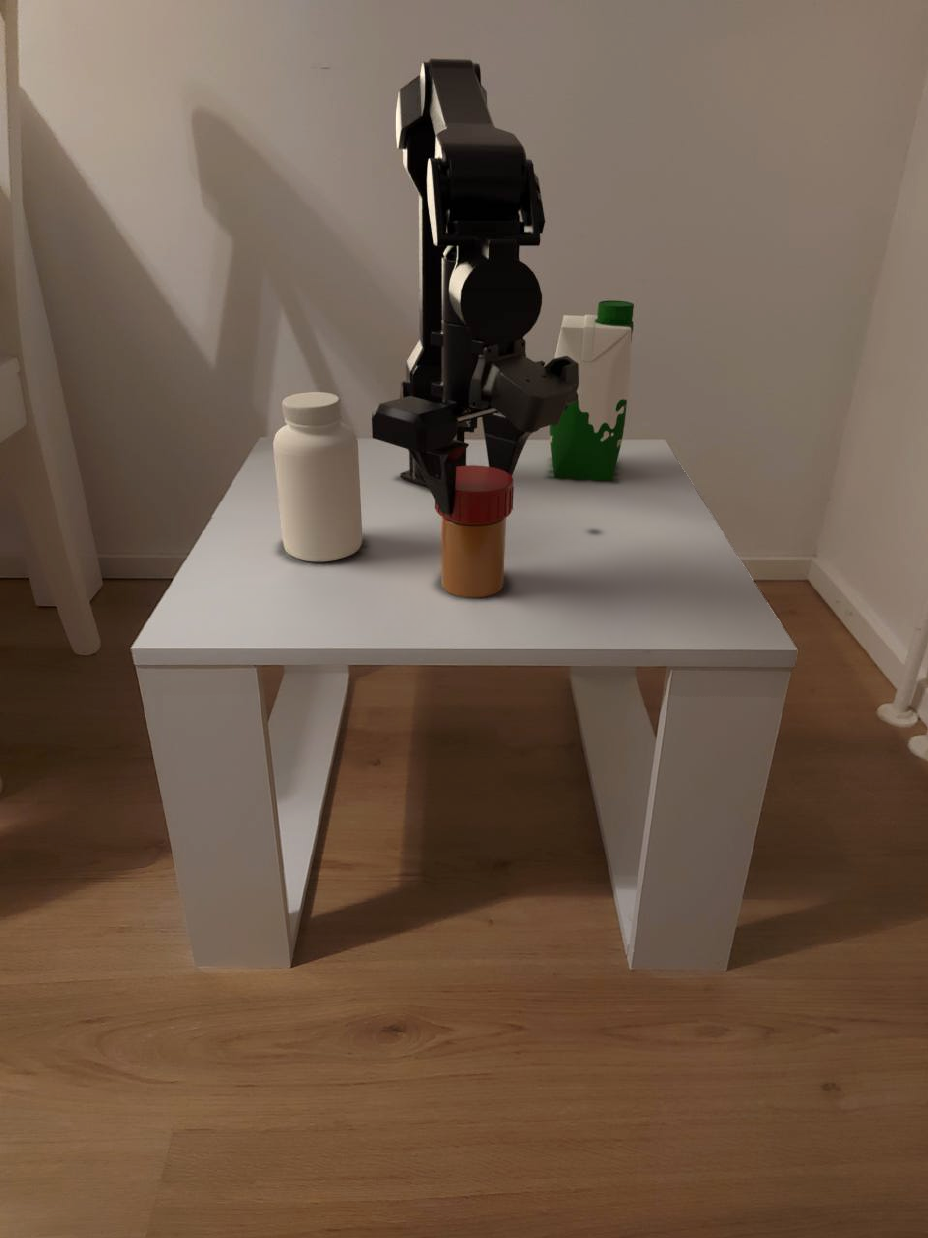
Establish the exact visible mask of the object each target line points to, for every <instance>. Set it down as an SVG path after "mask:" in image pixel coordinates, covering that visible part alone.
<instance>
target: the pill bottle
mask: <svg viewBox="0 0 928 1238" xmlns="http://www.w3.org/2000/svg"><path fill="white" fill-rule="evenodd" d="M281 404H282V414H283V417H284V422H285V423H286V425H285V424H284V426H282V427H281V428H280V429H279V430H278V431H277V432H276V433H275V435H274V438H273V443H272V447H273V458H274V467H275V478H276V489H277V497H278V508H279V517H280V528H281V538H282V543H283V548H284V549H285V551H286V553H287V554H288V555H289V556H291V557H294V558H295V559H297V560H302V561H307V562H331V561H337V560H340V559H341V560H342V559H345V558H347V557H349V556H352V555H353V554H355V553H356V552H357V551H359V549H360V548H361V546H362V543H363V519H362V500H361V497H362V496H361V479H360V478H361V477H360V459H359V458H360V457H359V442H358V438H357V435H356V432H355V431H354V430H353V429H352V428H351V427H350V426H348V425H347V424H345V423H344V422H342V421H343V415H342V406H341V405H342V403H341V399H340V397H339V396H338V395H336V394H333V393H329V392H323V391H309V392H300V393H295V394H291V395H288V396H287V397H285V398H284V399H283V400H282V403H281Z"/></svg>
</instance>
